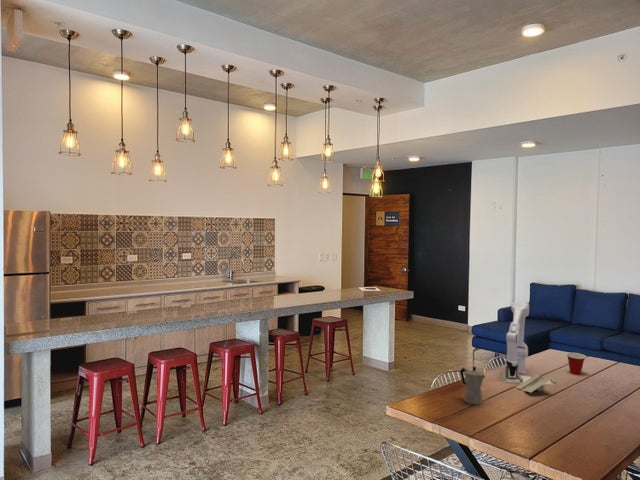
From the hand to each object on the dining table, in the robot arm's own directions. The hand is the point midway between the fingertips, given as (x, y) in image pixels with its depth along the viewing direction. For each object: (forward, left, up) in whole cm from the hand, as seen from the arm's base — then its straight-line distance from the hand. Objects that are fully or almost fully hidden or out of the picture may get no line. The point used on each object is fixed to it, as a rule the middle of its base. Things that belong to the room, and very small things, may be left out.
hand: (511, 374), depth 287 cm
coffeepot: (+43, -28, -3) cm, 51 cm away
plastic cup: (-24, +43, -3) cm, 49 cm away
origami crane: (+19, +8, -3) cm, 21 cm away
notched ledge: (0, +9, -3) cm, 9 cm away
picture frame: (0, 0, -2) cm, 2 cm away
